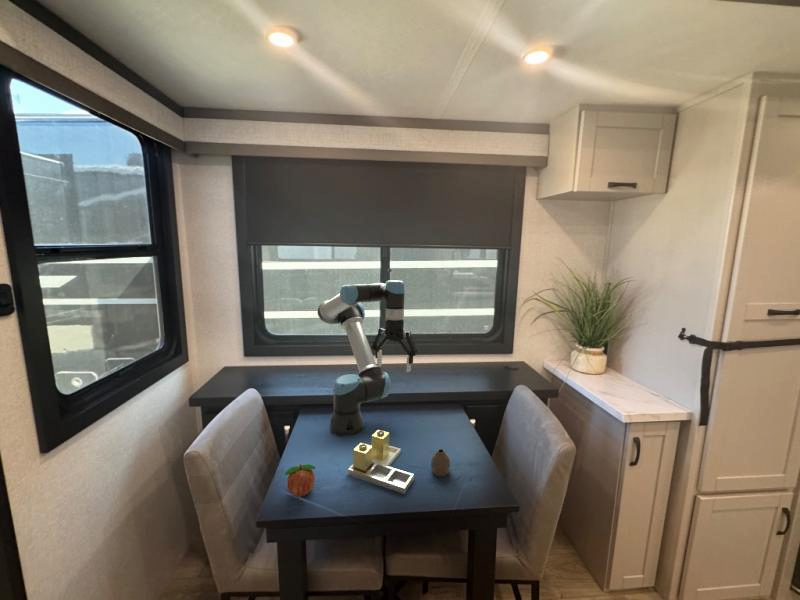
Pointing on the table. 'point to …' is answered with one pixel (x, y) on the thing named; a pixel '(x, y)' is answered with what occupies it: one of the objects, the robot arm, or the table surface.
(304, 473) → the fruit
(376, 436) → the knobbed block
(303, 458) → the table surface
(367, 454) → the brass block with knob
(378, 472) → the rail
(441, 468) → the vase
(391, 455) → the tray
